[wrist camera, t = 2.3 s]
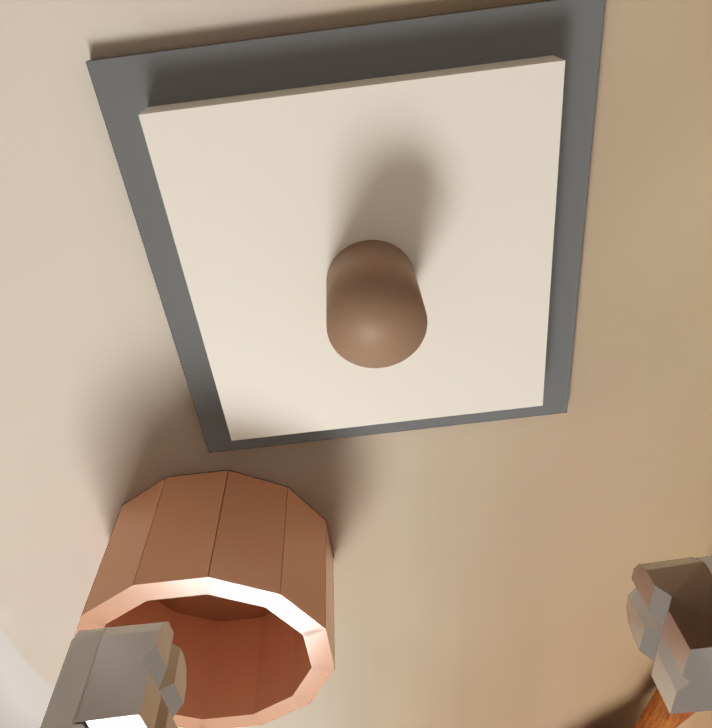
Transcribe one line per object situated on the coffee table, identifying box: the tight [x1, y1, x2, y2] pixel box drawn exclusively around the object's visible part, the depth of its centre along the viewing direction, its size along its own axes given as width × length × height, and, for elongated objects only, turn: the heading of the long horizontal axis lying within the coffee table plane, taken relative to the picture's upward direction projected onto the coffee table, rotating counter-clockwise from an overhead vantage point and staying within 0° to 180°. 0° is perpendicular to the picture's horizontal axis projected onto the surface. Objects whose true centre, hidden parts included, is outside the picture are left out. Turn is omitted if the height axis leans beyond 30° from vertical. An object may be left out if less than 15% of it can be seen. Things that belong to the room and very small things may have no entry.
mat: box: [86, 0, 605, 453], centre depth 24 cm, size 16×16×1 cm
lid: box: [139, 55, 565, 441], centre depth 22 cm, size 13×13×4 cm
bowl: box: [75, 470, 335, 728], centre depth 30 cm, size 11×11×6 cm
